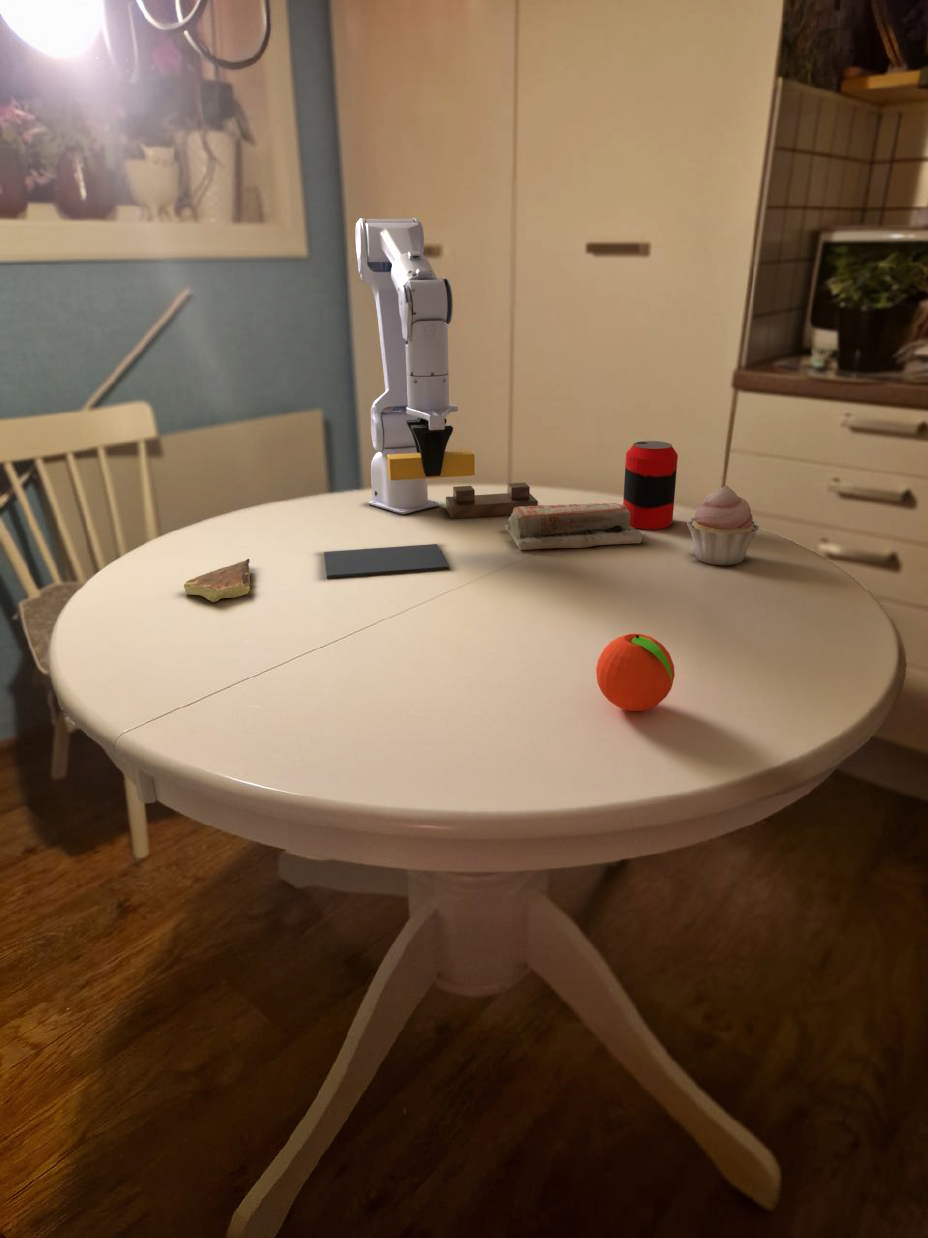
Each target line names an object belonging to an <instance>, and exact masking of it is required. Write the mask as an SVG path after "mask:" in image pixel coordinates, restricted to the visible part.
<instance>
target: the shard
mask: <svg viewBox="0 0 928 1238" xmlns="http://www.w3.org/2000/svg"><path fill="white" fill-rule="evenodd" d="M250 561H251V560H250V558H247V559H245V560H243V561H242V560H241V561H238V562H237V563H234V564H231V565H227V566H225V567H221V568H218V569H216V570H213V571H212V570H211V571H209V572H207V573H204V574H201V575H199V576H196V577H194V578H191V579H189V580H187V581H186V582H185V583H184V584H183V588H184V592H185V594H186V595H189V596H200V597H203V598H205V599H206V600H208V601H210V602H212V603H215V602H218V601H220V599H230V598H233V599H234V598H239V597H241V596H245V595H248V594H249V592H250V590H251V585H250V582H251V579H250V578H251V577H250V576H251V568H250Z"/></svg>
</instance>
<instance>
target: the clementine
mask: <svg viewBox="0 0 928 1238" xmlns="http://www.w3.org/2000/svg"><path fill="white" fill-rule="evenodd" d="M595 672H596V673H595V674H596V683H597V685H598V687H599V690H600V692H601V693H602V694H603V696H604V697H605V699H606V700H607V701H609V703H611V704H612V705H614V706H616V707H617V708H620V709H621V710H623V711H630V712H643V711H646V710H649V709H653V708H654V707H656V706H658V705H659V704H660V703H662V701H664V700H665V699H666V698H667V697H668V695H669V693H670V692H671V690H672V687H673V684H674V680H675V673H676V672H675V665H674V661H673V659H672V657H671V654H670V651H668V649H667V648H666V647H665V646H664V645H663V644H662V643H661V642H660V641H658V640H657V639H655V638H653V637H652V636H649V635H647V634H643V633H627V634H624V635H621V636H619V637H616V638H615V639H613V640H611V641H610V642H609V643H608V644H607V645H606V646H605V647H604V648H603V649H602V651H601V653H600V655H599V657H598V659H597V663H596V668H595Z"/></svg>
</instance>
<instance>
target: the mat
mask: <svg viewBox="0 0 928 1238" xmlns="http://www.w3.org/2000/svg"><path fill="white" fill-rule="evenodd" d="M323 558H324V566H325V574H326V575H325V576H326V579H335V578H348V577H349V578H350V577H363V576H365V577H366V576H375V575H376V576H377V575H389V574H390V575H391V574H403V573H404V574H405V573H416V572H417V573H418V572H429V571H430V572H431V571H441V570H442V571H443V570H450V567H449V565H448V562H447V560H446V559H445V556H444V555H443V553H442V550H441V549H440V547H439V545H438V544H437V543H430V544H418V545H417V544H416V545H403V546H390V547H389V546H388V547H374V548H373V547H372V548H361V549H359V548H358V549H346V550H333V551H331V550H330V551H323Z"/></svg>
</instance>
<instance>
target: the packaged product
mask: <svg viewBox="0 0 928 1238" xmlns="http://www.w3.org/2000/svg"><path fill="white" fill-rule="evenodd" d="M629 523H630V512H629V511H628V510H627V508H626V506H625V505H623V504H620V503H616V502H609V503H606V502H602V503H597V502H596V503H580V504H578V503H573V504H571V503H570V504H546V505H545V504H544V505H538V506H520V507H515V508H514V509H513V513H512V514H511V515H510V516H509V518H508V523H506V524H505V529H506V531H507V533H508V534H509V536H510V537H511V539H512V540H513V542H514V544H515V545H516V546H517V548H518V549H519V551H527V550H528V551H529V550H543V549H582V548H583V549H584V548H589V547H594V546H605V545H607V546H608V545H628V544H641V542H642V538H643V533H642V532H641V531H640V530H639V529H638V528H634V527H632V526H631V525H629Z"/></svg>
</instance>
